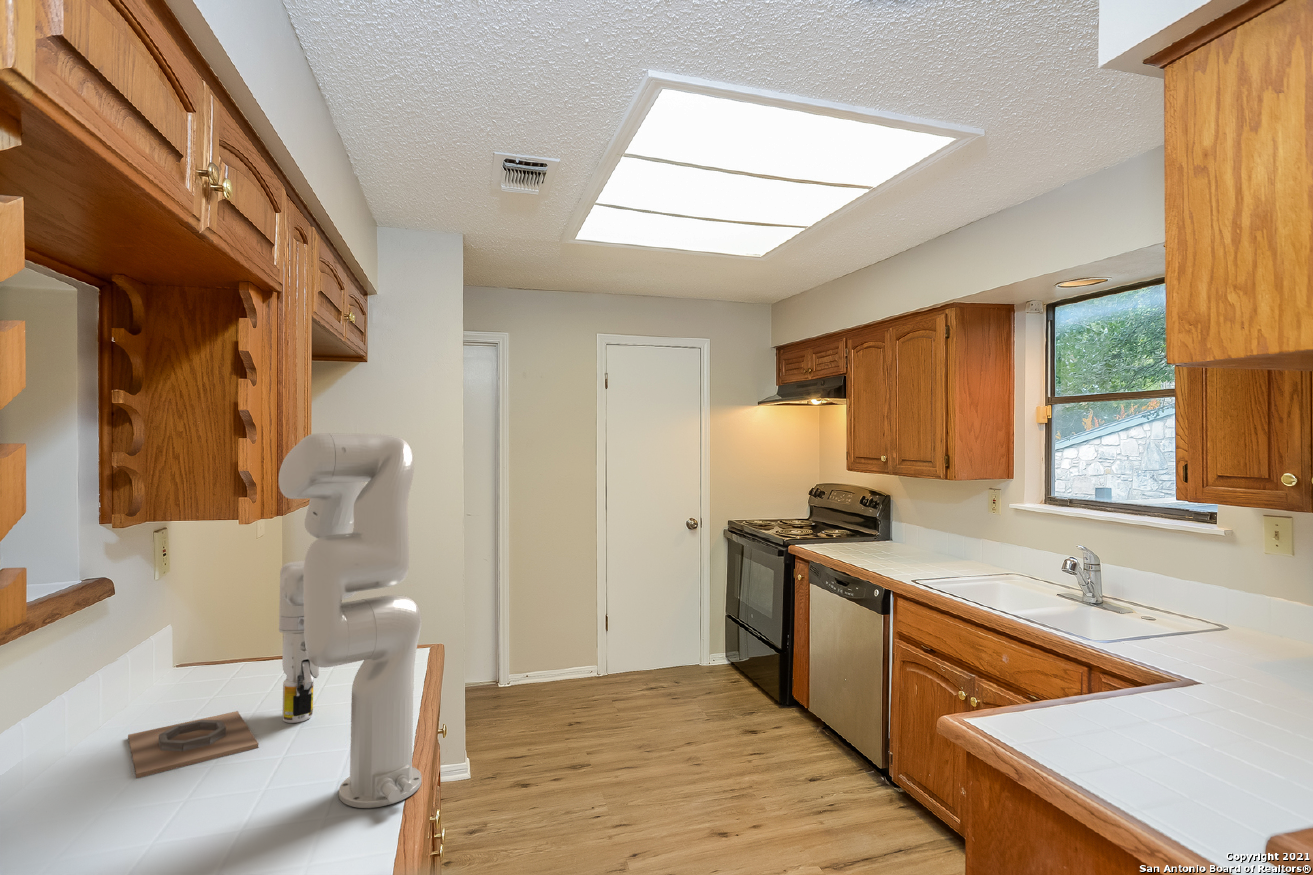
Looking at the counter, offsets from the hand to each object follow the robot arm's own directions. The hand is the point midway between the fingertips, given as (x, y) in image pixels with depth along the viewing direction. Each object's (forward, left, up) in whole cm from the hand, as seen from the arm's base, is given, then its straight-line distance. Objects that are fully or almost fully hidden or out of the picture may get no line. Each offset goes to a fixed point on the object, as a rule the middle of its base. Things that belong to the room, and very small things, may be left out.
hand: (297, 708), depth 138 cm
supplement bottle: (0, 0, -2) cm, 2 cm away
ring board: (0, +18, -2) cm, 18 cm away
